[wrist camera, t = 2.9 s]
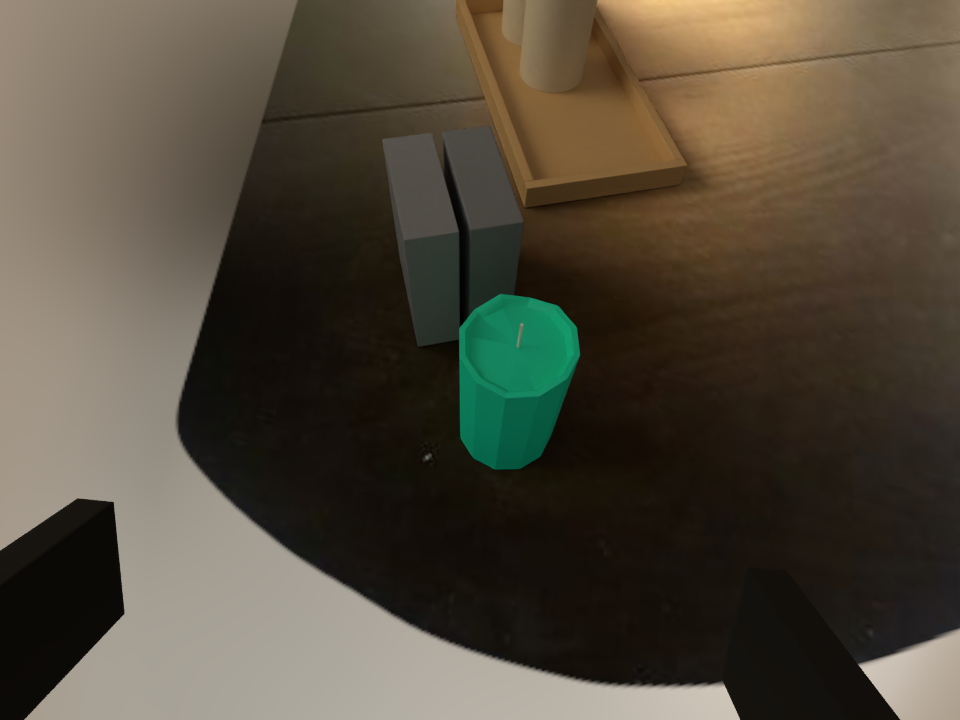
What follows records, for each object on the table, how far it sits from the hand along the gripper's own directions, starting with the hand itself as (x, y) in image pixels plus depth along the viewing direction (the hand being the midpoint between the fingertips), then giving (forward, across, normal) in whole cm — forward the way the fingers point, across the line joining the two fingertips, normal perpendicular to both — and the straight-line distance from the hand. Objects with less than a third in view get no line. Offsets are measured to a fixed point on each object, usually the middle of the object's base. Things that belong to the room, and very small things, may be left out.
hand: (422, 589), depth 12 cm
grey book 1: (+31, -4, +1) cm, 31 cm away
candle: (+24, +2, -6) cm, 25 cm away
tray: (+48, +4, +19) cm, 52 cm away
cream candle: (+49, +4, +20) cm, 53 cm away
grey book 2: (+32, -1, +2) cm, 32 cm away
